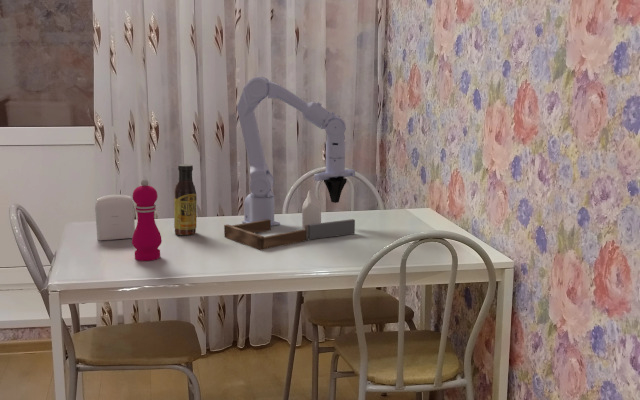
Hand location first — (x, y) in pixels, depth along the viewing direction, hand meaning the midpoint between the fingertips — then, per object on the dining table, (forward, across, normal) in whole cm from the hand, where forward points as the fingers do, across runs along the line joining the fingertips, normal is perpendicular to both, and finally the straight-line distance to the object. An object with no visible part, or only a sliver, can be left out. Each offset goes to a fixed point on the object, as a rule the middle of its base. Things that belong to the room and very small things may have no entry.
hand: (334, 202), depth 211 cm
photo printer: (+7, -58, +26) cm, 64 cm away
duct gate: (+7, -10, -9) cm, 15 cm away
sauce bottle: (+7, -40, +19) cm, 45 cm away
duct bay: (+7, -26, 0) cm, 27 cm away
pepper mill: (+7, -60, +3) cm, 61 cm away
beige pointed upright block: (+8, -9, 0) cm, 12 cm away
